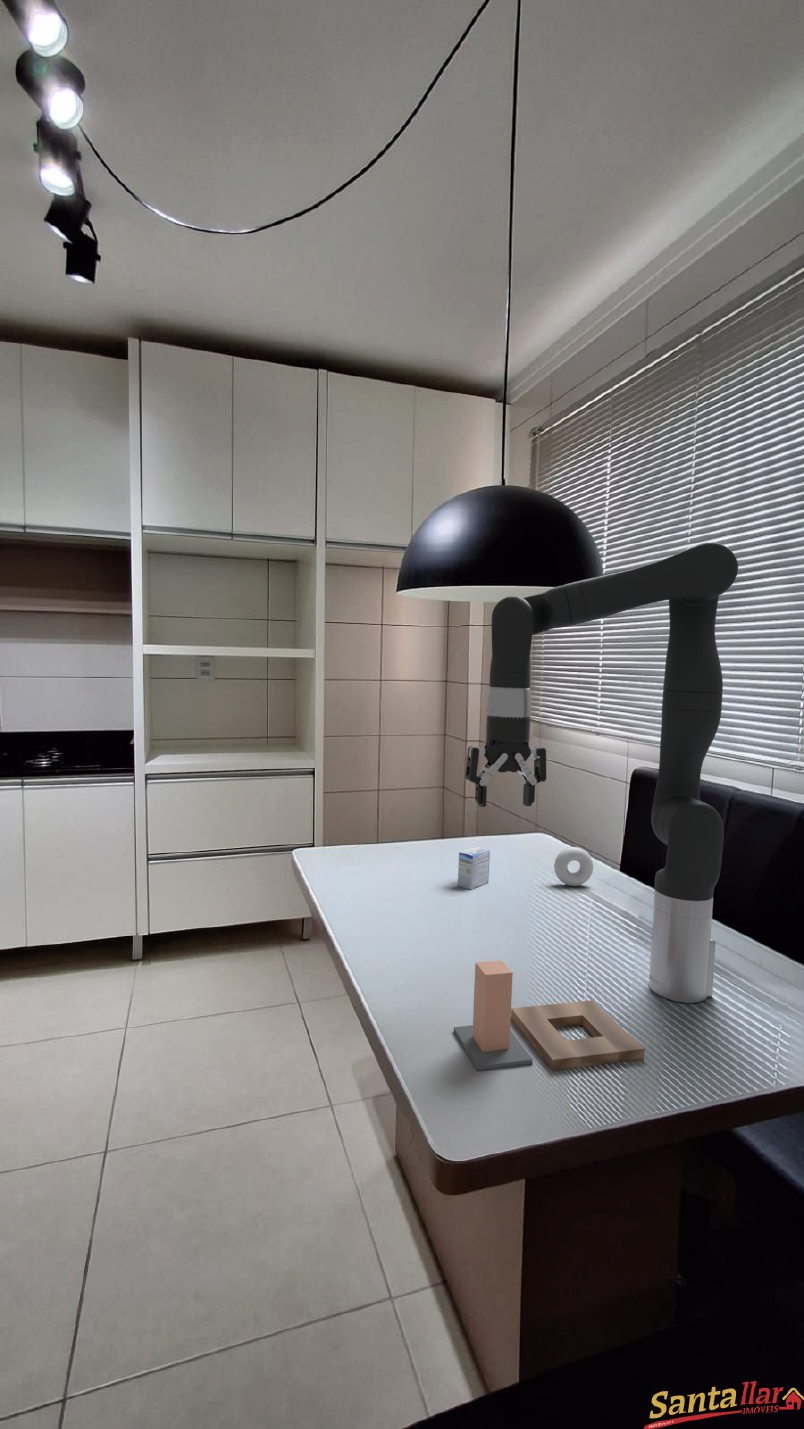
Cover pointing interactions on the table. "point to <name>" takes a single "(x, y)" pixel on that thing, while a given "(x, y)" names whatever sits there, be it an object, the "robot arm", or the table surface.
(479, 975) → the block
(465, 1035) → the mat
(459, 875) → the medicine box
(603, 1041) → the puzzle board
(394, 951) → the table surface
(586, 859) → the donut
